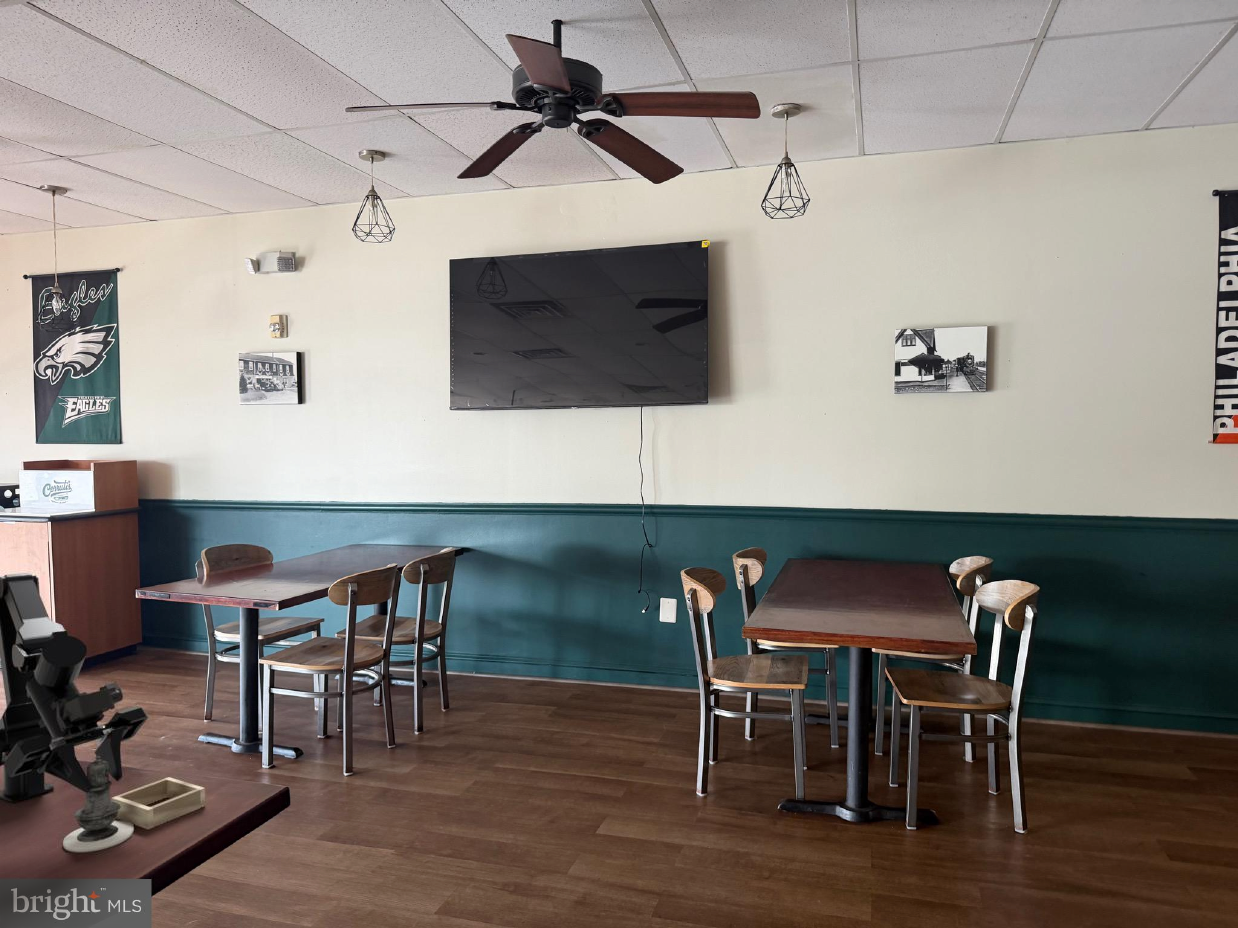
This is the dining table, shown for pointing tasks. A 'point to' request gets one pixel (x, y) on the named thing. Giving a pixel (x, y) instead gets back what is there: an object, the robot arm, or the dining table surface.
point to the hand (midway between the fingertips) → (104, 784)
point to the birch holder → (148, 817)
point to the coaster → (77, 846)
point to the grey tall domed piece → (97, 805)
